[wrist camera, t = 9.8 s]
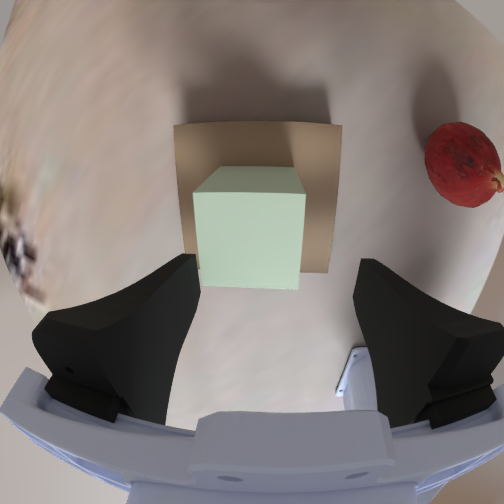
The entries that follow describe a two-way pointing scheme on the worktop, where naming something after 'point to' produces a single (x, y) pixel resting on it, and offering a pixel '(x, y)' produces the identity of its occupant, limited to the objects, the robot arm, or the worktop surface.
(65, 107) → the worktop surface
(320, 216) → the walnut base
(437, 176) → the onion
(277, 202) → the sage block
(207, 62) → the worktop surface
